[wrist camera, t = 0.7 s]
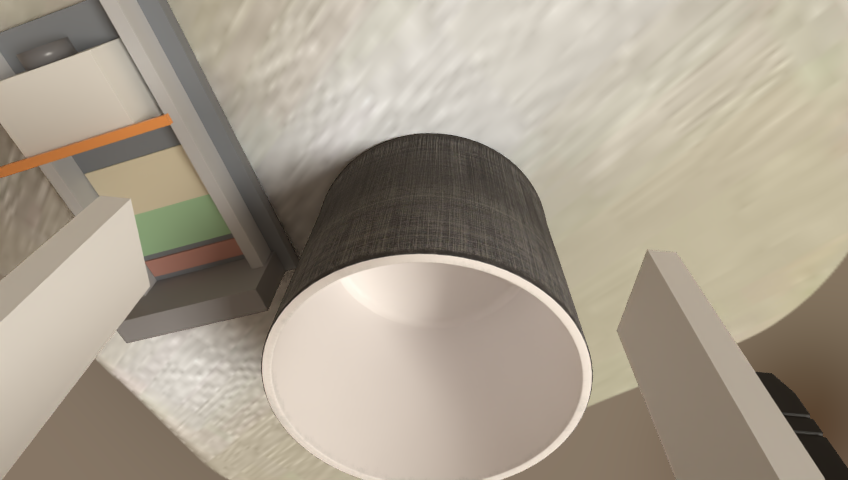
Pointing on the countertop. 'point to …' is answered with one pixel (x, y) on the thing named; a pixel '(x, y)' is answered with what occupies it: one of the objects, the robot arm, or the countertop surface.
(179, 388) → the countertop surface
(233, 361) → the countertop surface
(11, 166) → the cream box orange strip
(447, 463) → the planter
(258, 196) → the gauge base
